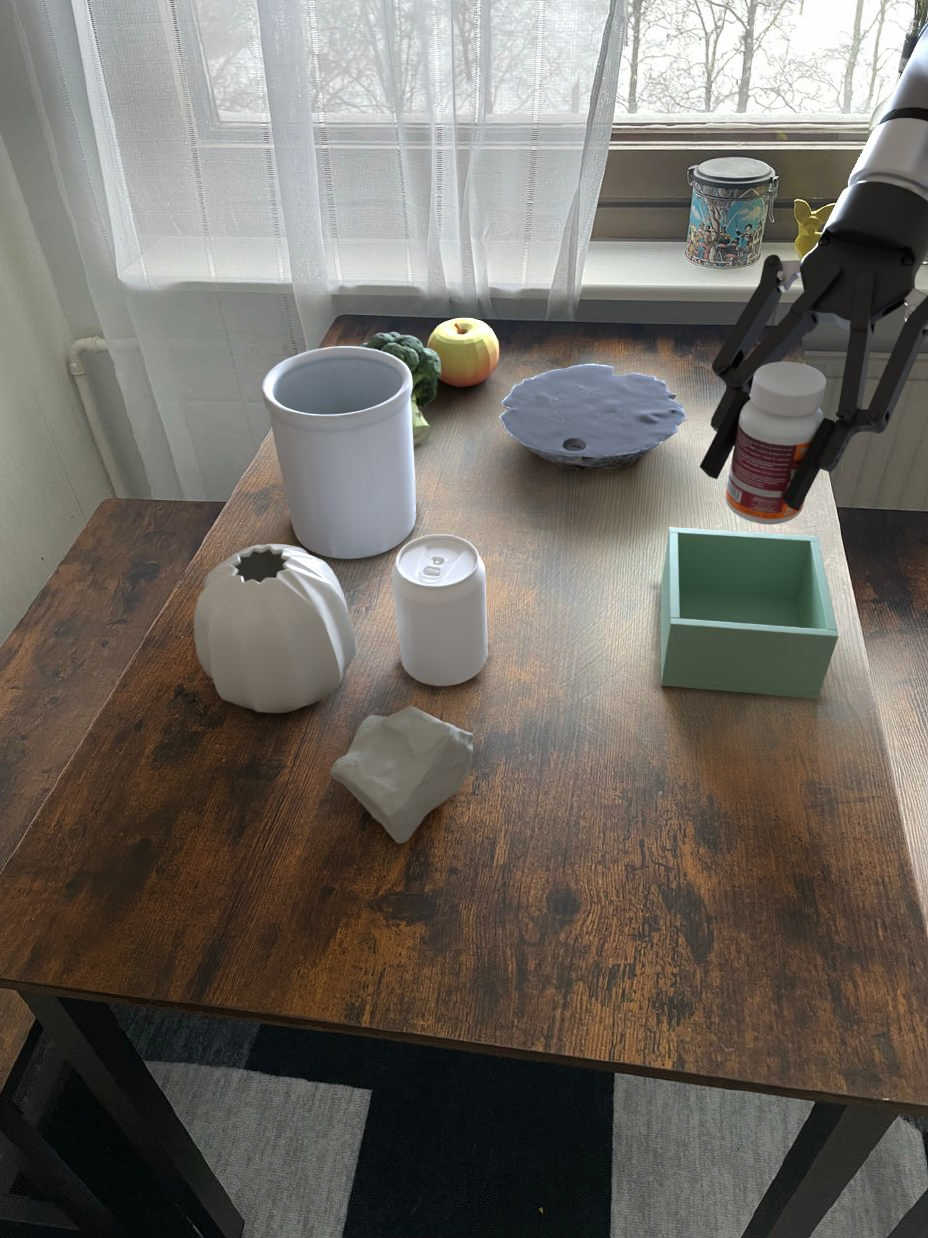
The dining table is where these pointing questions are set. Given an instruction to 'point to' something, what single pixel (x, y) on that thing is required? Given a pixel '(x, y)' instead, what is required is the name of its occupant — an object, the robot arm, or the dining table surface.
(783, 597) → the bin
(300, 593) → the vase
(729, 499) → the pill bottle
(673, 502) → the dining table surface
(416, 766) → the decorative stone
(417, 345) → the vegetable
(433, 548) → the beverage can
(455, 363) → the apple
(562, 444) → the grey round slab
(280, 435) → the utensil holder
